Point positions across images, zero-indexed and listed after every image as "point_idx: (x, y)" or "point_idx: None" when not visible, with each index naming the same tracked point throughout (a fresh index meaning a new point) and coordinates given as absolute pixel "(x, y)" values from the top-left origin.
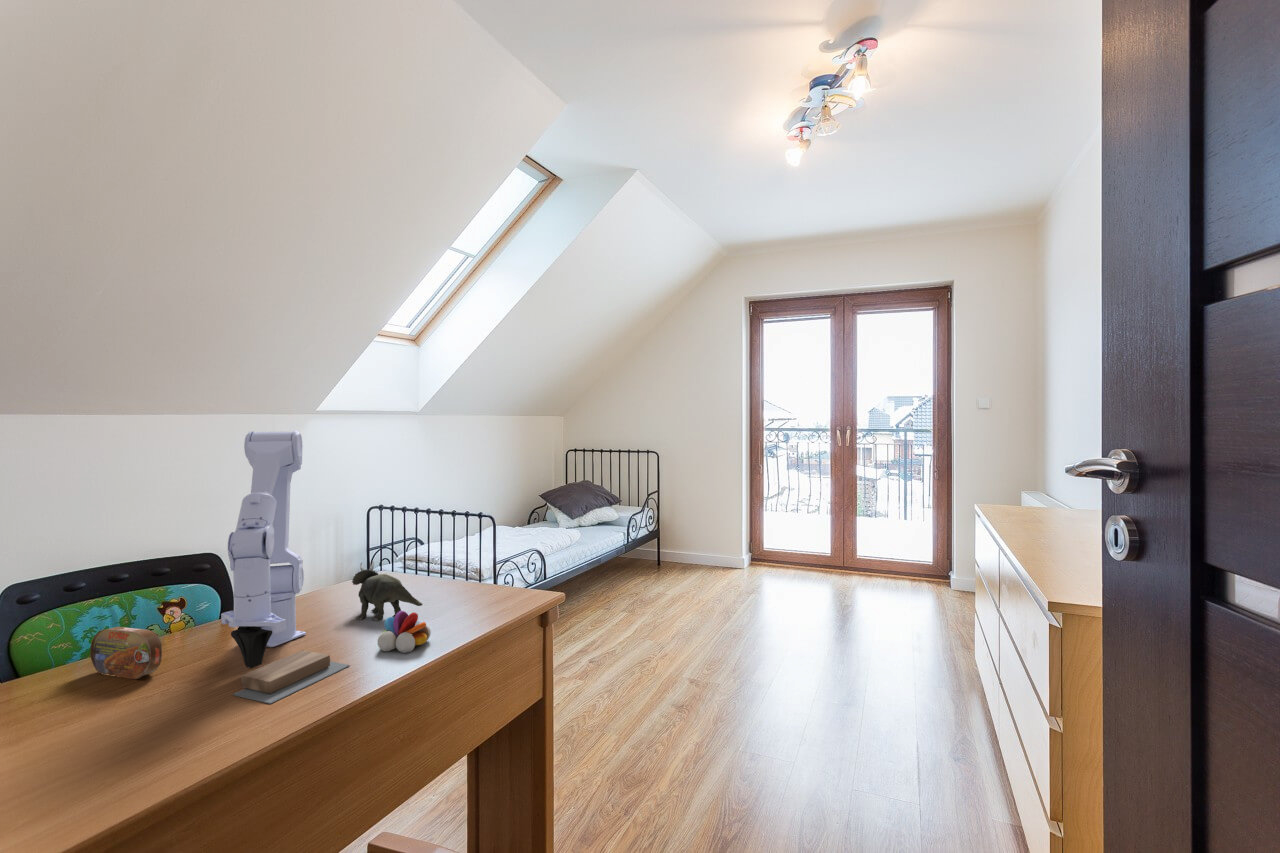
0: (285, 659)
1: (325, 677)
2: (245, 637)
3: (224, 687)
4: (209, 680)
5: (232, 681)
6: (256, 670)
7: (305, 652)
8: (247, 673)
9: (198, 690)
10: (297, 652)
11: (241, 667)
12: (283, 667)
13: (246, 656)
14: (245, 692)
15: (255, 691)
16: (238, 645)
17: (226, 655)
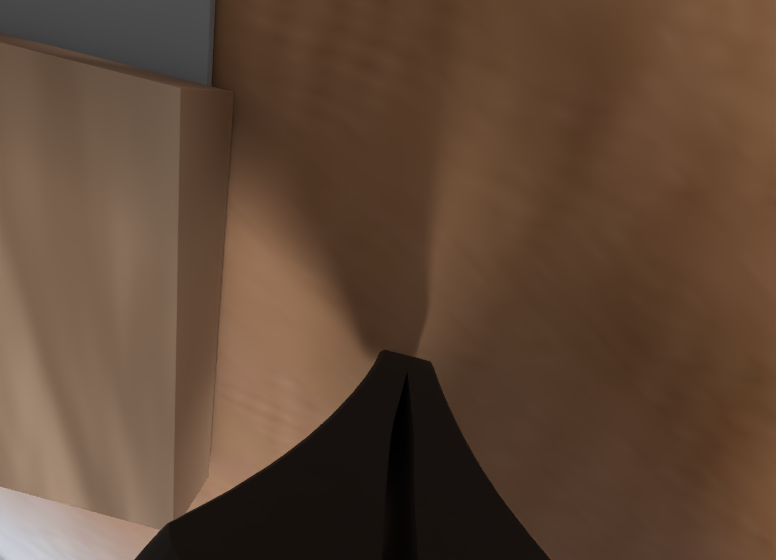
0: (137, 411)
1: None
2: (231, 555)
3: (404, 111)
4: (621, 212)
5: (425, 214)
6: (148, 210)
7: (120, 503)
8: (164, 139)
9: (585, 22)
10: (167, 504)
11: (531, 409)
12: (6, 285)
13: (398, 400)
14: (143, 25)
15: (87, 53)
16: (494, 495)
17: (759, 548)
